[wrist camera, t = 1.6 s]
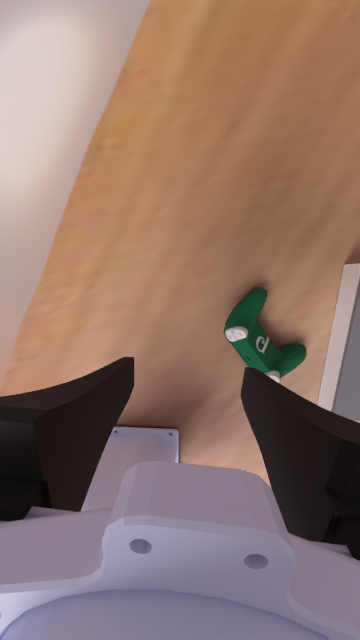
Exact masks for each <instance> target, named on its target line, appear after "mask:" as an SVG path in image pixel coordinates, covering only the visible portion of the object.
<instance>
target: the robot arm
mask: <svg viewBox="0 0 360 640" xmlns="http://www.w3.org/2000/svg"><path fill="white" fill-rule="evenodd" d="M133 387H134V357H123V358H121V359H119V360H117V361H115V362H113V363H111V364H109V365H107V366H105V367H103V368H101V369H99V370H97V371H95V372H92V373H90V374H88V375H86V376H83V377H81V378H78V379H75V380H72V381H70V382H67V383H63V384H60V385H56V386H53V387H49V388H45V389H41V390H37V391H32V392H27V393H22V394H16V395H10V396H3V397H0V640H360V423H358V422H355V421H352V420H350V419H347V418H345V417H342V416H340V415H338V414H336V413H333V412H331V411H329V410H326V409H324V408H322V407H320V406H318V405H316V404H314V403H312V402H310V401H308V400H306V399H304V398H303V397H301V396H299V395H297V394H296V393H294V392H292V391H291V390H289V389H287V388H286V387H284V386H282V385H281V384H279V383H278V382H276V381H275V380H273V379H272V378H270V377H269V376H267V375H266V374H264V373H263V372H261V371H260V370H258V369H256V368H250V367H245V372H244V378H243V384H242V389H241V399H242V403H243V407H244V410H245V413H246V415H247V418H248V420H249V423H250V425H251V428H252V430H253V433H254V435H255V438H256V440H257V442H258V445H259V448H260V450H261V453H262V456H263V460H264V463H265V466H266V470H267V473H268V477H269V480H270V484H271V487H272V488H271V487H270V486H269V485H268V484H267V483H266V482H265V481H264V480H263V479H262V478H261V477H260V476H258V475H255V474H252V473H249V472H246V471H243V470H240V469H232V468H223V467H214V466H205V465H196V464H187V463H179V432H178V430H176V429H162V428H138V427H115V425H116V423H117V421H118V419H119V417H120V415H121V413H122V411H123V410H124V408H125V406H126V404H127V402H128V400H129V398H130V395H131V393H132V390H133ZM170 433H172V434H170Z"/></svg>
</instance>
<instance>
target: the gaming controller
mask: <svg viewBox="0 0 360 640" xmlns="http://www.w3.org/2000/svg"><path fill="white" fill-rule="evenodd" d="M266 297H267V291H266V290H264V289H262V288H260V287H256V288H255V289H253V290H252V291H251V292H250V293H249V294H248V295H247V296H245V297H244V298H243V300H242V301H241V302H240V303H239V304H238V305H237V306H236V307H235V308H234V309H233V311H232V312H231V314H230V316H229V317H228V319H227V321H226V323H225V324H226V325H225V329H224V334H225V336H226V338H227V339H228V341H229V342H230V343H232V345H233V347H234V348H235V350H236V351H237V352H238V354H239V355H240V357H241V358H242V359H243V360H244V362H245V363H246V364H247V366H248V367H250V368H256V369H258V370H260V371H261V372H263V373H264V374H266V375H267V376H269V377H270V378H272V379H273V380H275V381H276V382H280V378H281V377H283V376H284V375H286V374H287V373H289V372H290V371H292V370H293V369H295V368H296V367H297V366H298V365H299V364H301V363H302V362H303V360H304V359H305V357H306V347H305V346H304V345H302V344H290V345H287V346H284V347H282V348H279V349H276V347H275V346H274V345H273V343H272V342H271V340H270V339H269V338H268V336H267V335H266V333H265V332H264V331H263V329H262V328H261V326H260V325H259V324H258V322H257V321H256V318H257V316H258V315H259V313H260V311H261V309H262V308H263V306H264V303H265V301H266Z"/></svg>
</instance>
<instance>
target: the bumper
mask: <svg viewBox="0 0 360 640" xmlns="http://www.w3.org/2000/svg"><path fill="white" fill-rule="evenodd" d="M317 405H318V406H320V407H322V408H324V409H326V410H329V411H331V412H333V413H336V414H338V415H340V416H342V417H345V418H347V419H350V420H360V263H357V264H346V265H344V267H343V272H342V278H341V283H340V288H339V293H338V299H337V304H336V309H335V314H334V320H333V325H332V330H331V335H330V340H329V346H328V351H327V356H326V361H325V367H324V372H323V377H322V382H321V388H320V393H319V398H318V403H317Z"/></svg>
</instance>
